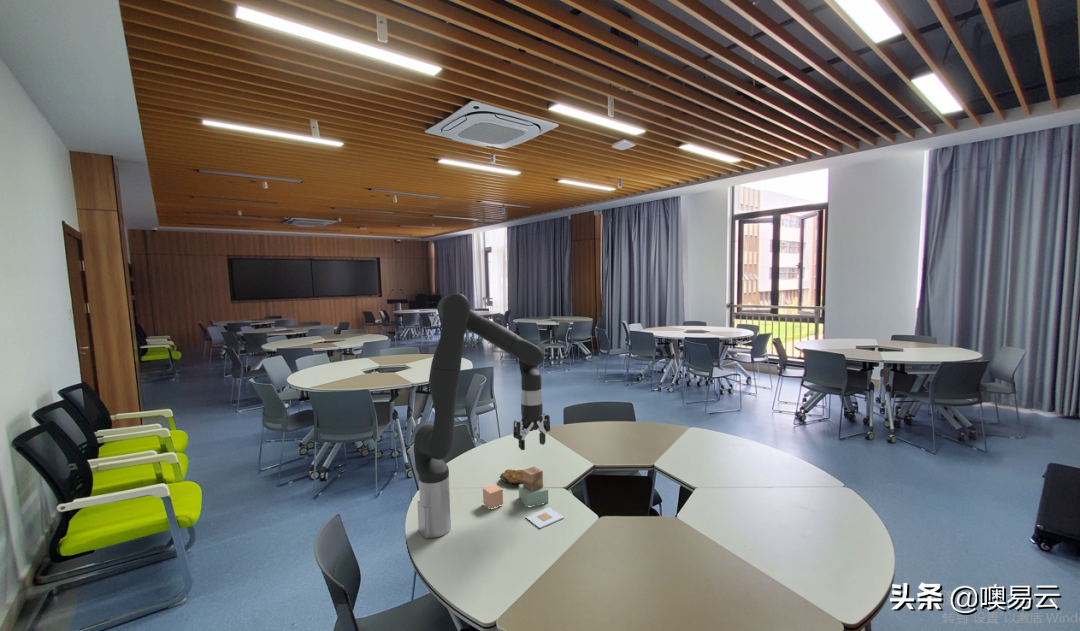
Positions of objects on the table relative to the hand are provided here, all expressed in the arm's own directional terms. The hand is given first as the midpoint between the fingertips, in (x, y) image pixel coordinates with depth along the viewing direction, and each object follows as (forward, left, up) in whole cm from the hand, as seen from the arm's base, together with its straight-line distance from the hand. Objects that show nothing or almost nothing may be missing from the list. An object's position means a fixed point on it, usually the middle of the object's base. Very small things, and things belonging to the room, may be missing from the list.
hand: (532, 446), depth 153 cm
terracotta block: (-13, +6, -20) cm, 24 cm away
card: (-4, -12, -20) cm, 23 cm away
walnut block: (0, 0, -15) cm, 15 cm away
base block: (0, 0, -20) cm, 20 cm away
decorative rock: (+4, +16, -20) cm, 26 cm away
